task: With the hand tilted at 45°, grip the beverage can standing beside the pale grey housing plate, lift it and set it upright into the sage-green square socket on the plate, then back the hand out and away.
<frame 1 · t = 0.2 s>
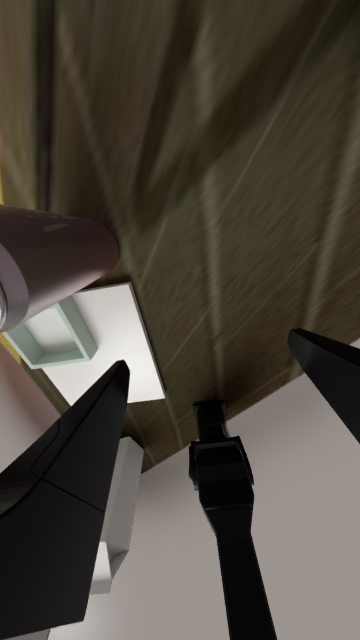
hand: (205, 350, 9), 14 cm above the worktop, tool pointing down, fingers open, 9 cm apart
milk carton: (125, 444, 41), on the worktop
beverage can: (95, 248, 19), on the worktop
housing plate: (98, 355, 27), on the worktop
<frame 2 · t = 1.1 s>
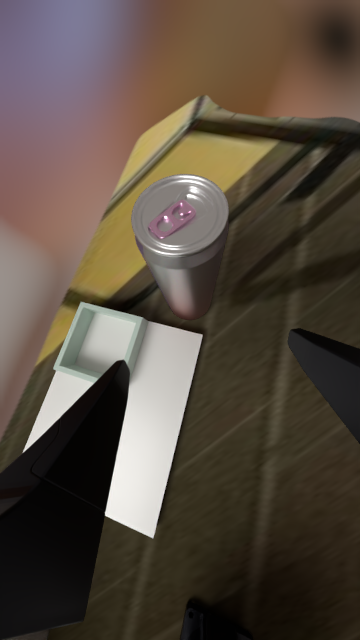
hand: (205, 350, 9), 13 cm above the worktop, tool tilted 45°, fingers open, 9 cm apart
beverage can: (189, 301, 24), on the worktop
housing plate: (116, 398, 22), on the worktop
when the fingers open (10 cm above the worktop, at t = 7.9 s): beverage can drops 1 cm, resting on housing plate.
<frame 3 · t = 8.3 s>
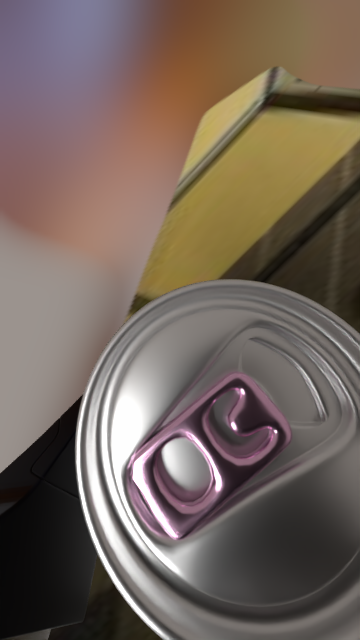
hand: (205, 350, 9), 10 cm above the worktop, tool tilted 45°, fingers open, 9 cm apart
beverage can: (203, 368, 17), point 1 cm above the worktop, touching housing plate
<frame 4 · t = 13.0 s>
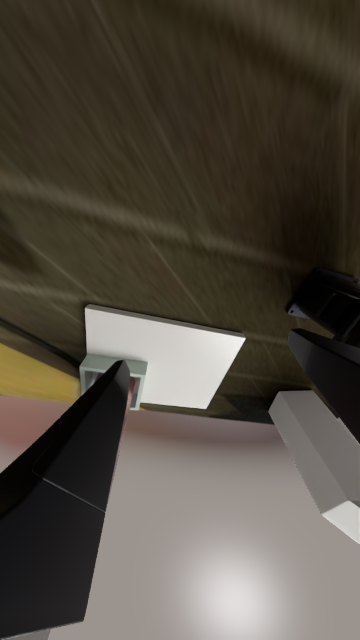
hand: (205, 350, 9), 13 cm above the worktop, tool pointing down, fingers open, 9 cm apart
milk carton: (288, 399, 34), on the worktop
beverage can: (117, 376, 27), point 1 cm above the worktop, touching housing plate
housing plate: (160, 364, 27), on the worktop
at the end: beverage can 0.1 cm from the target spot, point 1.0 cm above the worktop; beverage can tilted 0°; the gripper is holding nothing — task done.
